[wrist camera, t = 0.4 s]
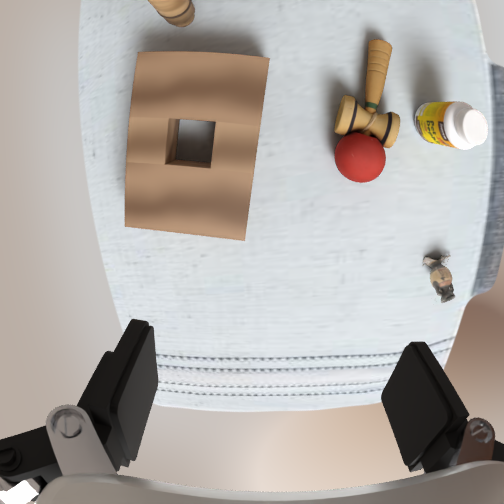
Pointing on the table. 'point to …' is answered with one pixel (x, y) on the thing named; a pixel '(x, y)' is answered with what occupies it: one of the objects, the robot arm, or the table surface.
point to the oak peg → (175, 11)
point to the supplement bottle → (451, 124)
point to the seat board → (166, 135)
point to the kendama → (366, 123)
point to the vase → (440, 278)
